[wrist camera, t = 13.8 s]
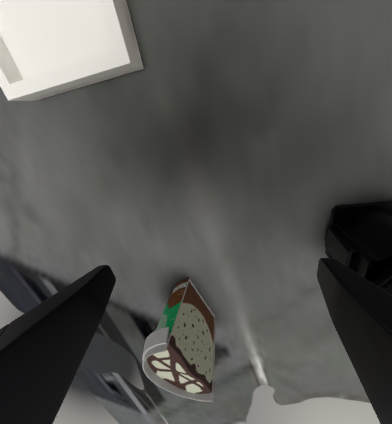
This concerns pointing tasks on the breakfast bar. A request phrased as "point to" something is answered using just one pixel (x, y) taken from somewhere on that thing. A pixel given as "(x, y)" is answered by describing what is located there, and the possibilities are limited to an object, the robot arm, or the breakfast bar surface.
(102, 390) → the breakfast bar surface
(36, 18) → the tray
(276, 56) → the breakfast bar surface
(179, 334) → the food container
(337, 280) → the robot arm
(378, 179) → the breakfast bar surface
